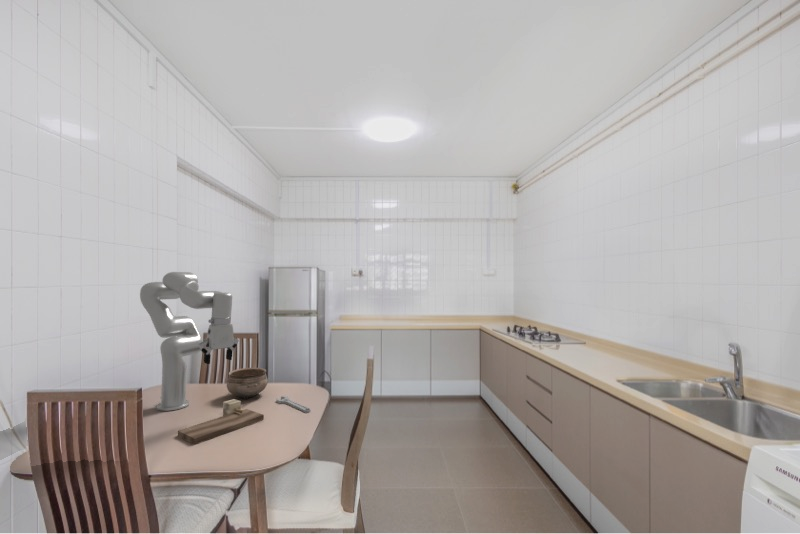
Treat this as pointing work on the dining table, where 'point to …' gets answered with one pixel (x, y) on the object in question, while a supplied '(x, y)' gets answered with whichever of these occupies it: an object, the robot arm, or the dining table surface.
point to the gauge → (231, 407)
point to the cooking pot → (247, 382)
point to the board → (219, 426)
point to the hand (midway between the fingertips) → (218, 361)
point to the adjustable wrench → (292, 404)
